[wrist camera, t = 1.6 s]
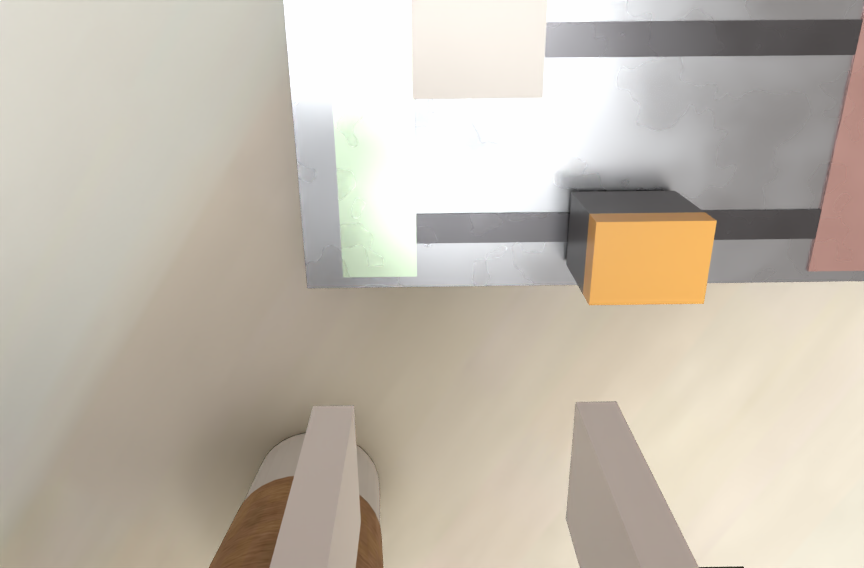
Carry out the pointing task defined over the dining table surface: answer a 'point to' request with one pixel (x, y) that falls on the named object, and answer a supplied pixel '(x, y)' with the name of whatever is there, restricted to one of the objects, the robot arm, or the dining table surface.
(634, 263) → the block
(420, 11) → the block
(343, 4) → the panel
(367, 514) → the coffee cup
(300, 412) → the dining table surface
